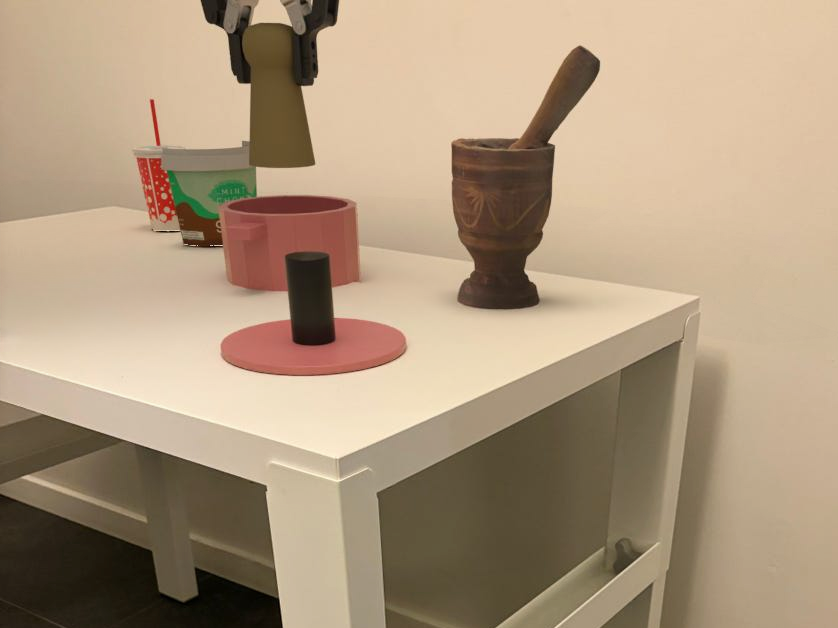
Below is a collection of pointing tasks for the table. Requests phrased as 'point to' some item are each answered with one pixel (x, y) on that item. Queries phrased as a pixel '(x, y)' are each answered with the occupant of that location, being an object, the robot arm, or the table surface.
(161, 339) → the table surface
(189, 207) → the food container
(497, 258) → the mortar and pestle
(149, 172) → the beverage cup
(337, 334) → the lid
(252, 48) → the cork
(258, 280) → the pot
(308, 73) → the robot arm
